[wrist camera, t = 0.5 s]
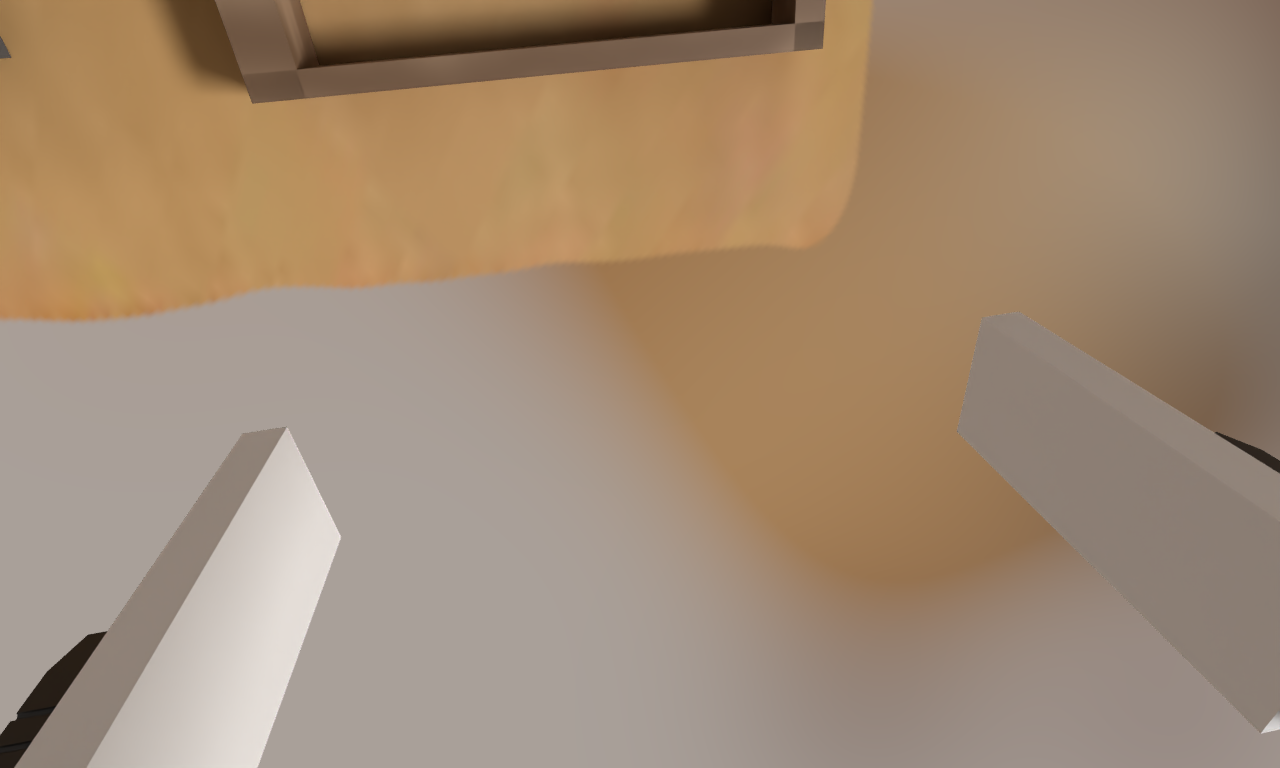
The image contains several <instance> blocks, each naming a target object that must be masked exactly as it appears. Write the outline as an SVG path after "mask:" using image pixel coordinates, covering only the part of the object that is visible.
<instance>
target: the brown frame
mask: <svg viewBox="0 0 1280 768" xmlns="http://www.w3.org/2000/svg"><path fill="white" fill-rule="evenodd" d="M215 2H216V5H217V8H218V10H219V13H220V16H221V19H222V21H223V24H224V27H225V30H226V32H227V35H228V38H229V41H230V43H231V46H232V49H233V52H234V55H235V57H236V60H237V63H238V66H239V68H240V71H241V74H242V77H243V79H244V82H245V85H246V88H247V90H248V93H249V96H250V99H251V101H252V104H253V103H263V102H274V101H284V100H294V99H305V98H315V97H325V96H336V95H346V94H356V93H367V92H377V91H388V90H398V89H408V88H419V87H429V86H439V85H450V84H460V83H470V82H481V81H491V80H502V79H512V78H522V77H533V76H543V75H553V74H564V73H574V72H584V71H595V70H605V69H616V68H626V67H636V66H647V65H657V64H667V63H678V62H688V61H698V60H709V59H719V58H730V57H740V56H750V55H761V54H771V53H781V52H792V51H802V50H813V49H823V35H824V20H825V4H826V0H772V24H765V25H754V26H744V27H733V28H722V29H711V30H700V31H689V32H679V33H668V34H657V35H646V36H635V37H624V38H613V39H603V40H592V41H581V42H570V43H559V44H548V45H537V46H527V47H516V48H505V49H494V50H483V51H472V52H461V53H451V54H440V55H429V56H418V57H407V58H396V59H385V60H375V61H364V62H353V63H342V64H331V65H320V66H319V62H318V59H317V56H316V53H315V49H314V46H313V43H312V39H311V36H310V33H309V30H308V26H307V23H306V20H305V16H304V13H303V10H302V6H301V3H300V0H215Z"/></svg>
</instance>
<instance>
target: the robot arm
mask: <svg viewBox="0 0 1280 768" xmlns="http://www.w3.org/2000/svg"><path fill="white" fill-rule="evenodd" d="M957 432H958V433H959V434H960V435H961V436H962V437H963V438H964V439H965V440H966V441H967V442H968V443H969V444H970V445H971V446H972V447H973V448H974V449H975V450H976V451H977V452H978V453H979V454H980V455H981V456H982V457H983V458H984V459H985V460H986V461H987V462H988V463H989V464H990V465H991V466H992V467H993V468H994V469H995V470H996V471H997V472H998V473H999V474H1000V475H1001V476H1002V477H1003V478H1004V479H1005V480H1006V481H1007V482H1008V483H1009V484H1010V485H1011V486H1012V487H1013V488H1014V489H1015V490H1016V491H1017V492H1018V493H1019V494H1020V495H1021V496H1022V497H1023V498H1024V499H1025V500H1026V501H1027V502H1028V503H1029V504H1030V505H1031V506H1032V507H1033V508H1034V509H1035V510H1036V511H1037V512H1038V513H1039V514H1041V516H1042V517H1043V518H1044V519H1045V520H1046V521H1047V522H1048V523H1049V524H1051V526H1052V527H1053V528H1054V529H1055V530H1056V531H1057V532H1058V533H1059V534H1060V535H1061V536H1063V538H1064V539H1065V540H1066V541H1067V542H1068V543H1069V544H1070V545H1071V546H1072V547H1073V548H1075V550H1076V551H1077V552H1078V553H1079V554H1081V555H1082V557H1084V558H1085V560H1086V561H1088V563H1090V564H1091V565H1092V566H1093V567H1094V568H1095V569H1096V570H1097V571H1098V572H1099V573H1100V574H1101V575H1102V576H1103V577H1104V578H1105V579H1106V580H1107V581H1108V582H1109V583H1110V584H1111V585H1112V586H1113V587H1114V588H1115V589H1116V590H1117V591H1118V592H1119V593H1120V594H1121V595H1122V596H1123V597H1124V598H1125V599H1126V600H1127V601H1128V602H1129V603H1130V604H1131V605H1132V606H1133V607H1134V608H1135V609H1136V610H1137V611H1138V612H1139V613H1140V614H1141V615H1142V616H1143V617H1144V618H1145V619H1146V620H1147V621H1148V622H1149V623H1150V624H1151V625H1152V626H1153V627H1154V628H1155V629H1156V630H1157V631H1158V632H1159V633H1160V634H1161V635H1162V636H1163V637H1164V638H1165V639H1166V640H1167V641H1168V642H1169V643H1170V644H1171V645H1172V646H1173V647H1174V648H1175V649H1176V650H1177V651H1178V652H1179V653H1180V654H1181V655H1182V656H1183V657H1184V658H1185V659H1186V660H1187V661H1188V662H1189V663H1190V664H1191V665H1192V666H1193V667H1194V668H1195V669H1196V670H1197V671H1198V672H1199V673H1200V674H1201V675H1202V676H1203V677H1204V678H1205V679H1206V680H1207V681H1208V682H1209V683H1210V684H1211V685H1212V686H1213V687H1214V688H1215V689H1216V690H1217V691H1218V692H1219V693H1220V694H1221V695H1222V696H1223V697H1224V698H1226V700H1227V701H1228V702H1229V703H1230V704H1231V705H1232V706H1233V707H1234V708H1236V710H1237V711H1238V712H1240V714H1241V715H1242V716H1244V718H1245V719H1246V720H1247V721H1248V722H1249V723H1250V724H1252V725H1253V727H1255V729H1256V730H1257V731H1259V733H1265V732H1270V731H1274V730H1279V729H1280V461H1279V460H1278V459H1276V458H1274V457H1273V456H1271V455H1270V454H1268V453H1266V452H1265V451H1263V450H1261V449H1258V448H1256V447H1253V446H1251V445H1248V444H1245V443H1243V442H1241V441H1238V440H1235V439H1233V438H1230V437H1228V436H1225V435H1223V434H1220V433H1218V432H1215V433H1214V432H1212V431H1210V430H1209V429H1207V428H1205V427H1204V426H1202V425H1201V424H1199V423H1197V422H1196V421H1194V420H1193V419H1191V418H1189V417H1188V416H1186V415H1185V414H1183V413H1181V412H1180V411H1178V410H1176V409H1175V408H1173V407H1171V406H1170V405H1168V404H1167V403H1165V402H1164V401H1162V400H1160V399H1158V398H1157V397H1155V396H1154V395H1152V394H1151V393H1149V392H1147V391H1146V390H1144V389H1143V388H1141V387H1139V386H1138V385H1136V384H1134V383H1133V382H1131V381H1130V380H1128V379H1126V378H1125V377H1123V376H1122V375H1120V374H1118V373H1117V372H1115V371H1114V370H1112V369H1110V368H1109V367H1107V366H1106V365H1104V364H1102V363H1101V362H1099V361H1098V360H1096V359H1094V358H1092V357H1091V356H1089V355H1088V354H1086V353H1085V352H1083V351H1081V350H1079V349H1078V348H1077V347H1075V346H1073V345H1072V344H1070V343H1069V342H1067V341H1065V340H1064V339H1062V338H1060V337H1059V336H1057V335H1056V334H1054V333H1052V332H1051V331H1049V330H1048V329H1046V328H1044V327H1043V326H1041V325H1040V324H1038V323H1036V322H1035V321H1033V320H1031V319H1030V318H1028V317H1027V316H1025V315H1023V314H1022V313H1020V312H1015V313H1008V314H1002V315H995V316H989V317H983V318H982V320H981V325H980V329H979V334H978V338H977V343H976V347H975V352H974V356H973V361H972V365H971V370H970V374H969V379H968V383H967V388H966V393H965V397H964V402H963V406H962V411H961V415H960V420H959V425H958V429H957ZM340 539H341V536H340V534H339V532H338V530H337V528H336V526H335V524H334V522H333V520H332V518H331V516H330V513H329V511H328V509H327V507H326V505H325V503H324V501H323V499H322V497H321V495H320V493H319V491H318V489H317V487H316V485H315V483H314V481H313V479H312V477H311V474H310V473H309V470H308V468H307V466H306V464H305V462H304V460H303V458H302V456H301V454H300V452H299V450H298V448H297V446H296V444H295V442H294V440H293V438H292V435H291V433H290V432H289V430H288V427H282V428H276V429H269V430H263V431H257V432H250V433H244V434H242V436H241V437H240V438H239V440H238V441H237V443H236V444H235V446H234V447H233V449H232V450H231V452H230V453H229V455H228V456H227V457H226V459H225V460H224V462H223V463H222V465H221V466H220V468H219V469H218V471H217V472H216V473H215V475H214V476H213V478H212V479H211V481H210V482H209V484H208V485H207V487H206V488H205V490H204V491H203V493H202V494H201V495H200V497H199V498H198V500H197V501H196V503H195V504H194V506H193V507H192V509H191V510H190V512H189V513H188V514H187V516H186V517H185V519H184V520H183V522H182V523H181V525H180V526H179V528H178V529H177V531H176V532H175V534H174V535H173V537H172V538H171V539H170V541H169V542H168V544H167V545H166V547H165V548H164V550H163V551H162V552H161V554H160V555H159V557H158V558H157V560H156V561H155V563H154V564H153V566H152V567H151V569H150V570H149V571H148V573H147V574H146V576H145V577H144V579H143V580H142V582H141V583H140V585H139V586H138V588H137V589H136V590H135V592H134V594H133V595H132V596H131V598H130V599H129V601H128V602H127V604H126V605H125V607H124V608H123V609H122V611H121V612H120V614H119V615H118V617H117V618H116V620H115V621H114V623H113V624H112V626H111V627H110V628H109V630H108V631H106V632H101V633H96V634H90V635H87V636H86V637H85V638H84V639H83V640H82V641H81V642H79V643H78V644H77V645H76V646H75V647H74V648H73V649H72V650H71V651H70V652H68V653H67V654H66V655H65V656H64V657H63V658H62V659H61V660H60V661H58V662H57V663H56V664H55V665H54V666H53V667H52V668H51V669H50V670H49V671H47V673H46V674H45V675H44V677H43V678H42V679H41V681H40V682H39V683H38V685H37V686H36V688H35V689H34V690H33V692H32V693H31V694H30V696H29V697H28V698H27V700H26V701H25V702H24V704H23V705H22V706H21V708H20V709H19V711H18V712H17V715H18V716H17V719H16V720H15V721H11V722H10V723H9V724H8V726H7V727H6V728H5V730H4V731H3V732H2V734H1V735H0V768H257V767H258V765H259V762H260V759H261V756H262V754H263V751H264V748H265V745H266V743H267V740H268V737H269V734H270V732H271V729H272V726H273V723H274V721H275V718H276V715H277V712H278V709H279V706H280V704H281V701H282V699H283V696H284V693H285V690H286V687H287V685H288V682H289V679H290V676H291V674H292V671H293V668H294V666H295V663H296V660H297V657H298V655H299V652H300V649H301V646H302V644H303V641H304V638H305V635H306V633H307V630H308V627H309V624H310V621H311V619H312V616H313V613H314V610H315V608H316V605H317V602H318V599H319V597H320V594H321V591H322V588H323V585H324V583H325V580H326V577H327V575H328V572H329V569H330V566H331V564H332V561H333V558H334V555H335V552H336V550H337V547H338V544H339V542H340Z"/></svg>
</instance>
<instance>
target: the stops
mask: <svg viewBox="0 0 1280 768" xmlns="http://www.w3.org/2000/svg"><path fill="white" fill-rule="evenodd" d="M0 58H11V56H10V54H9V52H8V50H7V48H6V46H5V44H4V42H3V41H2V39H1V37H0Z"/></svg>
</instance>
